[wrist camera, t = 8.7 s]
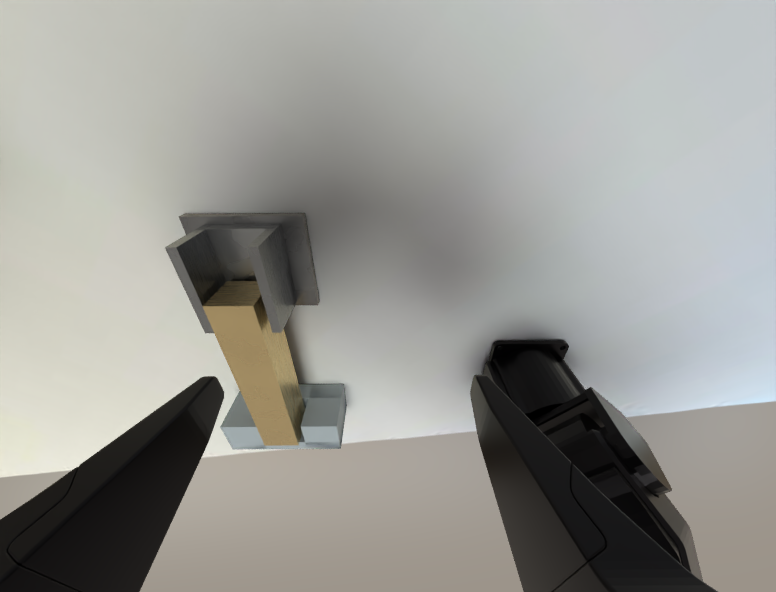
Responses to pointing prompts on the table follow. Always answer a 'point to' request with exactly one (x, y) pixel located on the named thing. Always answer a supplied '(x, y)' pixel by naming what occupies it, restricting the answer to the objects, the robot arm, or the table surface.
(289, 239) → the grey sleeve
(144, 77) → the table surface
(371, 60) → the table surface
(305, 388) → the slate-blue socket
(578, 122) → the table surface
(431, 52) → the table surface
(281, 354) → the tan square rod
